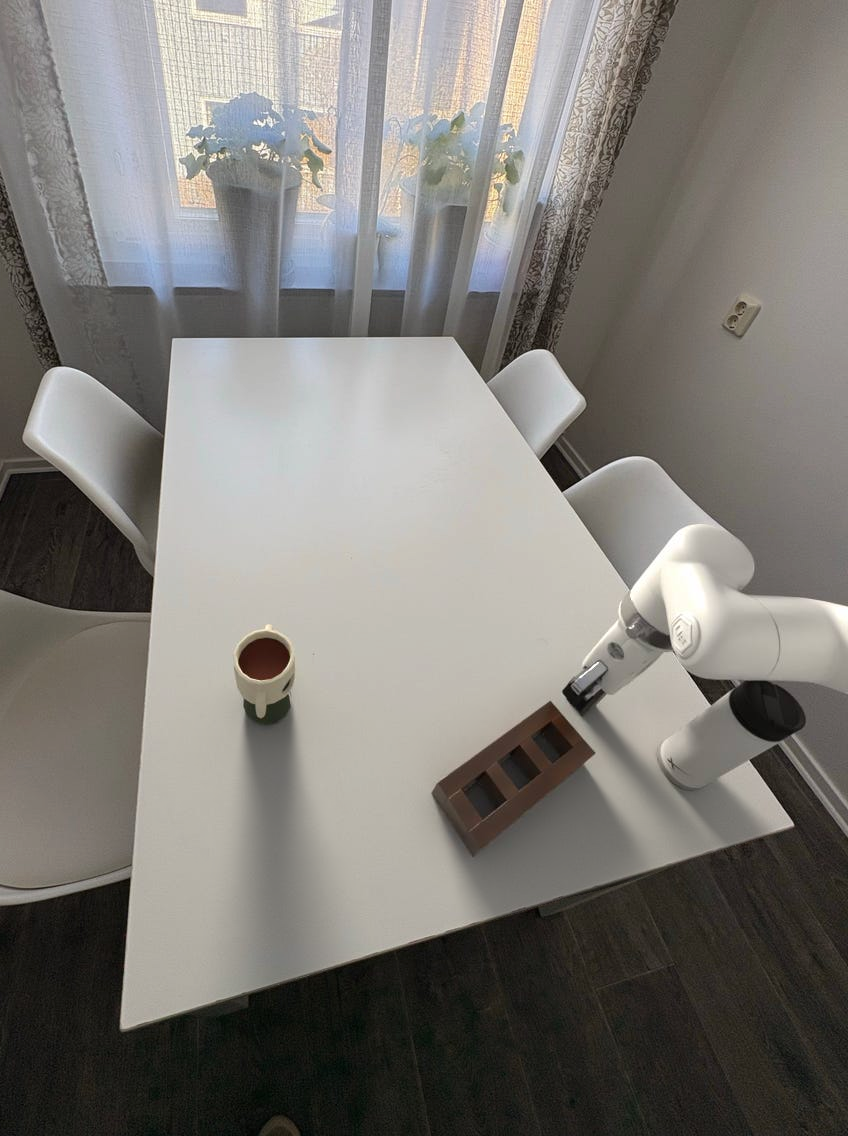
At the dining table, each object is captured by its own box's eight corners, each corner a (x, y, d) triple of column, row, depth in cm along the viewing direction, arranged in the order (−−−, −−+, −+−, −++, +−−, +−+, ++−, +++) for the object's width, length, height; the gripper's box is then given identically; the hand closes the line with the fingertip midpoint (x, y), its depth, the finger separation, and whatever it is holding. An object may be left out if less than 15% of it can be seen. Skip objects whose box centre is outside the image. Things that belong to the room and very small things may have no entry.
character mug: (291, 745, 67) (291, 701, 58) (234, 745, 66) (225, 700, 57) (297, 665, 75) (298, 615, 66) (246, 664, 74) (239, 613, 65)
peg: (595, 705, 75) (623, 676, 69) (581, 716, 74) (609, 687, 67) (579, 688, 77) (605, 657, 70) (565, 698, 75) (591, 668, 69)
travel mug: (657, 782, 68) (752, 720, 54) (654, 733, 73) (741, 664, 59) (708, 801, 67) (818, 743, 53) (702, 750, 72) (802, 684, 58)
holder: (583, 764, 69) (596, 753, 66) (472, 857, 60) (481, 849, 58) (540, 712, 73) (550, 700, 71) (431, 792, 65) (437, 782, 62)
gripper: (637, 680, 53) (574, 742, 66) (729, 608, 61) (657, 675, 73) (581, 622, 58) (531, 691, 70) (673, 562, 65) (613, 633, 77)
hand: (595, 683), depth 72 cm, fingers open, 9 cm apart
